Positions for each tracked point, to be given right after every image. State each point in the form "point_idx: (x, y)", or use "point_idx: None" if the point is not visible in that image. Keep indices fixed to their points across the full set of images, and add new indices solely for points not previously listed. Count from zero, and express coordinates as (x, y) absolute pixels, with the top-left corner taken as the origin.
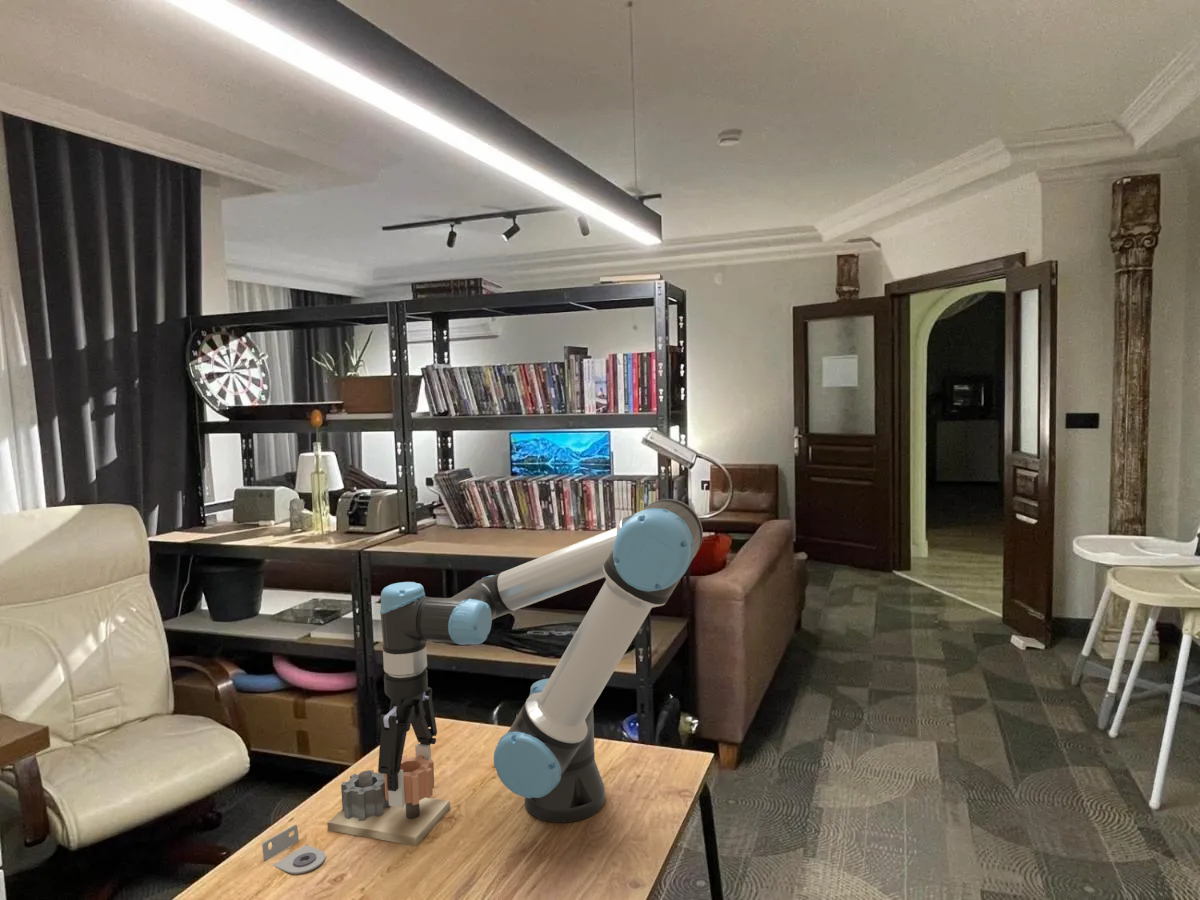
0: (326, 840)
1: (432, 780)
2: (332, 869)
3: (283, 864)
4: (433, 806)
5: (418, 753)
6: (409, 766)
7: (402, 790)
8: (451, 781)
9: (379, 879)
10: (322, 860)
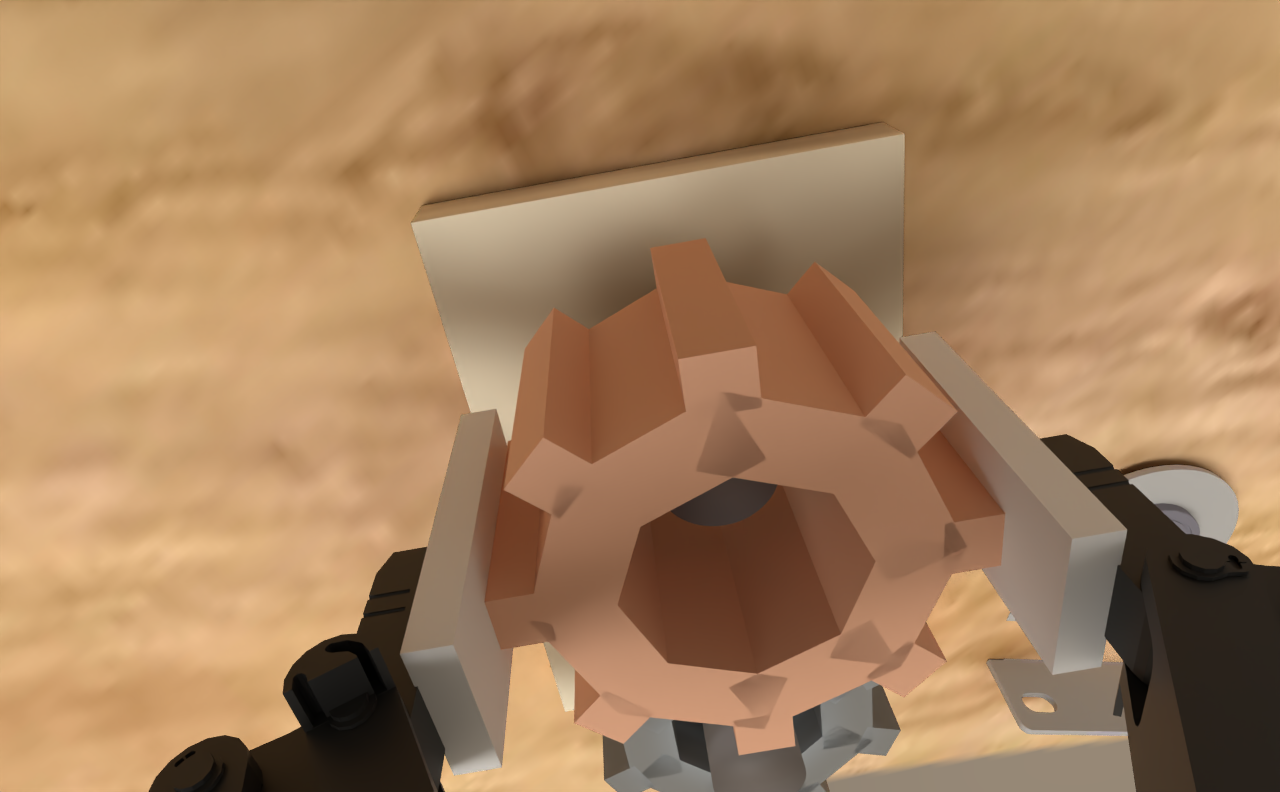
0: (956, 576)
1: (564, 347)
2: (1173, 397)
3: None
4: (532, 281)
5: (502, 664)
6: (646, 602)
7: (989, 404)
8: (162, 414)
9: (1244, 99)
10: (1143, 477)
